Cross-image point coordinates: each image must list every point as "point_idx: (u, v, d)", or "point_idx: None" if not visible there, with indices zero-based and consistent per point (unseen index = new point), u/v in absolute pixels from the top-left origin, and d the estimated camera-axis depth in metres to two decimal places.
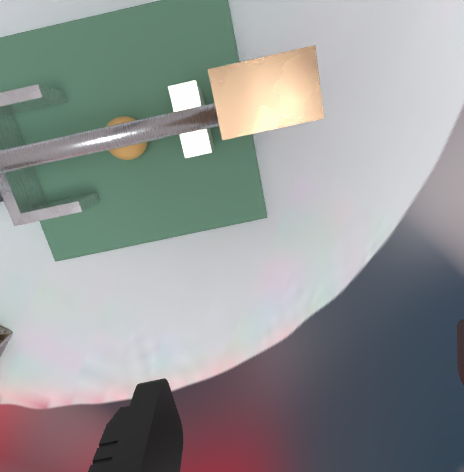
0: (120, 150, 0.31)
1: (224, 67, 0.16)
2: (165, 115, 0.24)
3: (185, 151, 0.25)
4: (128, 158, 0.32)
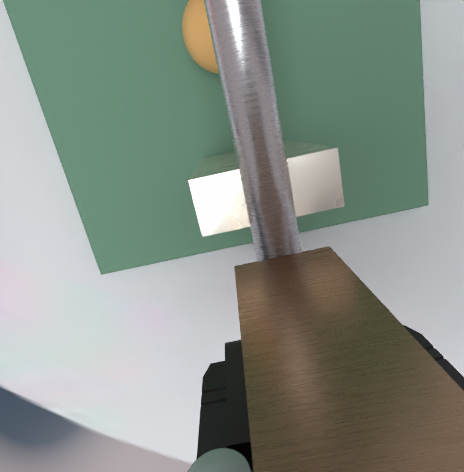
0: (199, 14, 0.15)
1: None
2: (281, 141, 0.11)
3: (202, 181, 0.11)
4: (185, 31, 0.16)
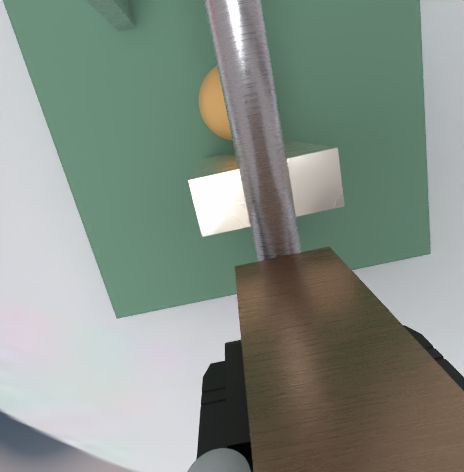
0: (216, 95, 0.16)
1: None
2: (281, 141, 0.11)
3: (202, 181, 0.11)
4: (201, 106, 0.17)
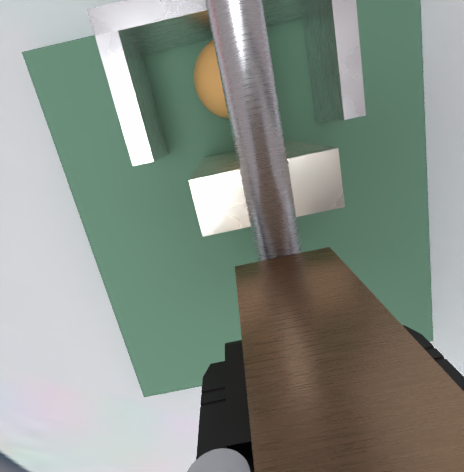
0: None
1: None
2: (281, 141, 0.11)
3: (203, 181, 0.11)
4: None
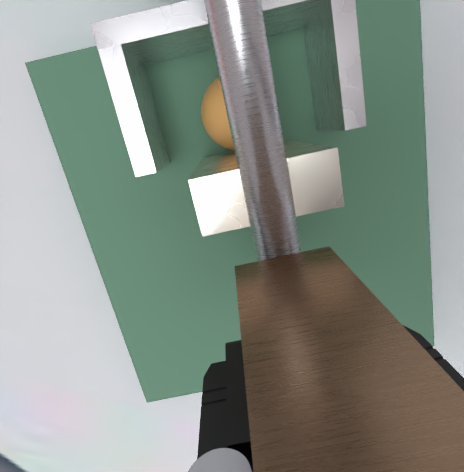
0: None
1: None
2: (280, 141, 0.11)
3: (202, 181, 0.11)
4: None
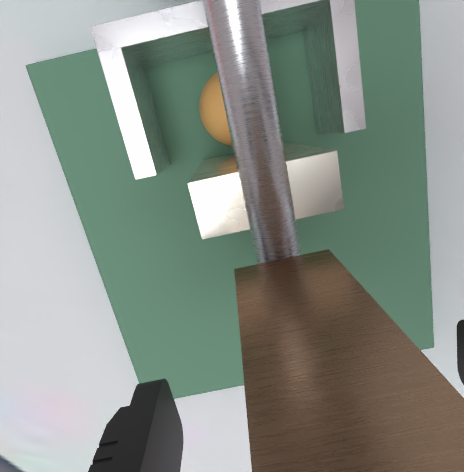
0: None
1: None
2: (280, 144, 0.11)
3: (202, 184, 0.11)
4: None
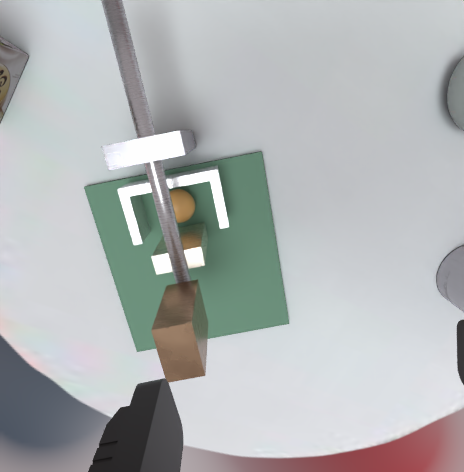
0: None
1: (192, 331, 0.27)
2: (180, 246, 0.33)
3: (156, 257, 0.34)
4: None
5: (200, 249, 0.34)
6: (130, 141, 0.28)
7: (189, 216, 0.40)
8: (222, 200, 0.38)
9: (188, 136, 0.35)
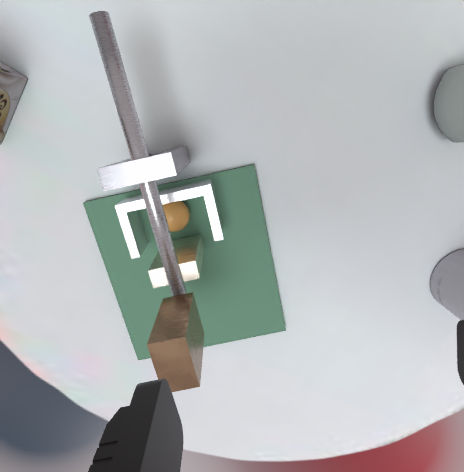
0: None
1: (186, 344, 0.28)
2: (175, 260, 0.35)
3: (152, 271, 0.35)
4: None
5: (194, 263, 0.35)
6: (124, 163, 0.29)
7: (183, 223, 0.41)
8: (216, 214, 0.39)
9: (181, 154, 0.36)
